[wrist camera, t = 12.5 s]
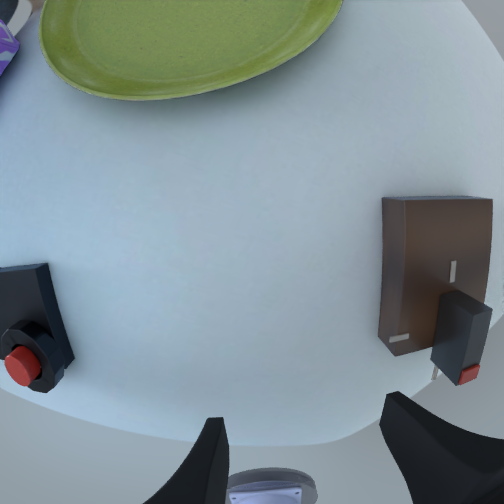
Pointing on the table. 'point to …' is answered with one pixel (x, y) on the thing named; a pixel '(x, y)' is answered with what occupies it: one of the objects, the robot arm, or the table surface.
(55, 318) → the button dock
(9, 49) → the pencil case
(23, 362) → the dock button
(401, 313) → the stand
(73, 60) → the green plate
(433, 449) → the robot arm
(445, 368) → the stamp handle
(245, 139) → the table surface
